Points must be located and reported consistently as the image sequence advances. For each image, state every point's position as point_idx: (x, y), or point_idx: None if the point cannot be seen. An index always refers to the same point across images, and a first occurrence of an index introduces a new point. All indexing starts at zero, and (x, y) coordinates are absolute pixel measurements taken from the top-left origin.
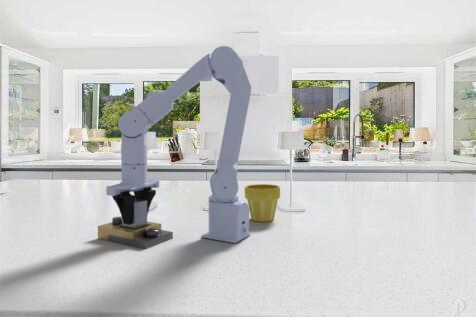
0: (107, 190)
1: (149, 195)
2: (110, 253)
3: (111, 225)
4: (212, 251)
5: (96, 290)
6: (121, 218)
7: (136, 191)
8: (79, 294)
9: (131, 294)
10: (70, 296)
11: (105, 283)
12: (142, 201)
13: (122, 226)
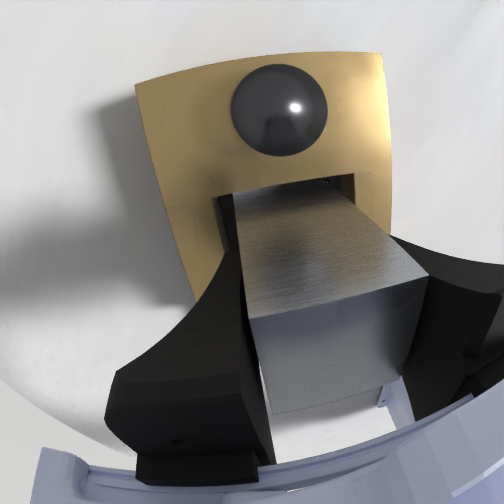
0: (44, 489)
1: (413, 415)
2: (120, 304)
3: (202, 133)
4: (316, 414)
5: (70, 407)
6: (285, 138)
7: (477, 334)
8: (50, 399)
9: (111, 434)
10: (41, 395)
11: (83, 403)
12: (357, 391)
13: (235, 211)
